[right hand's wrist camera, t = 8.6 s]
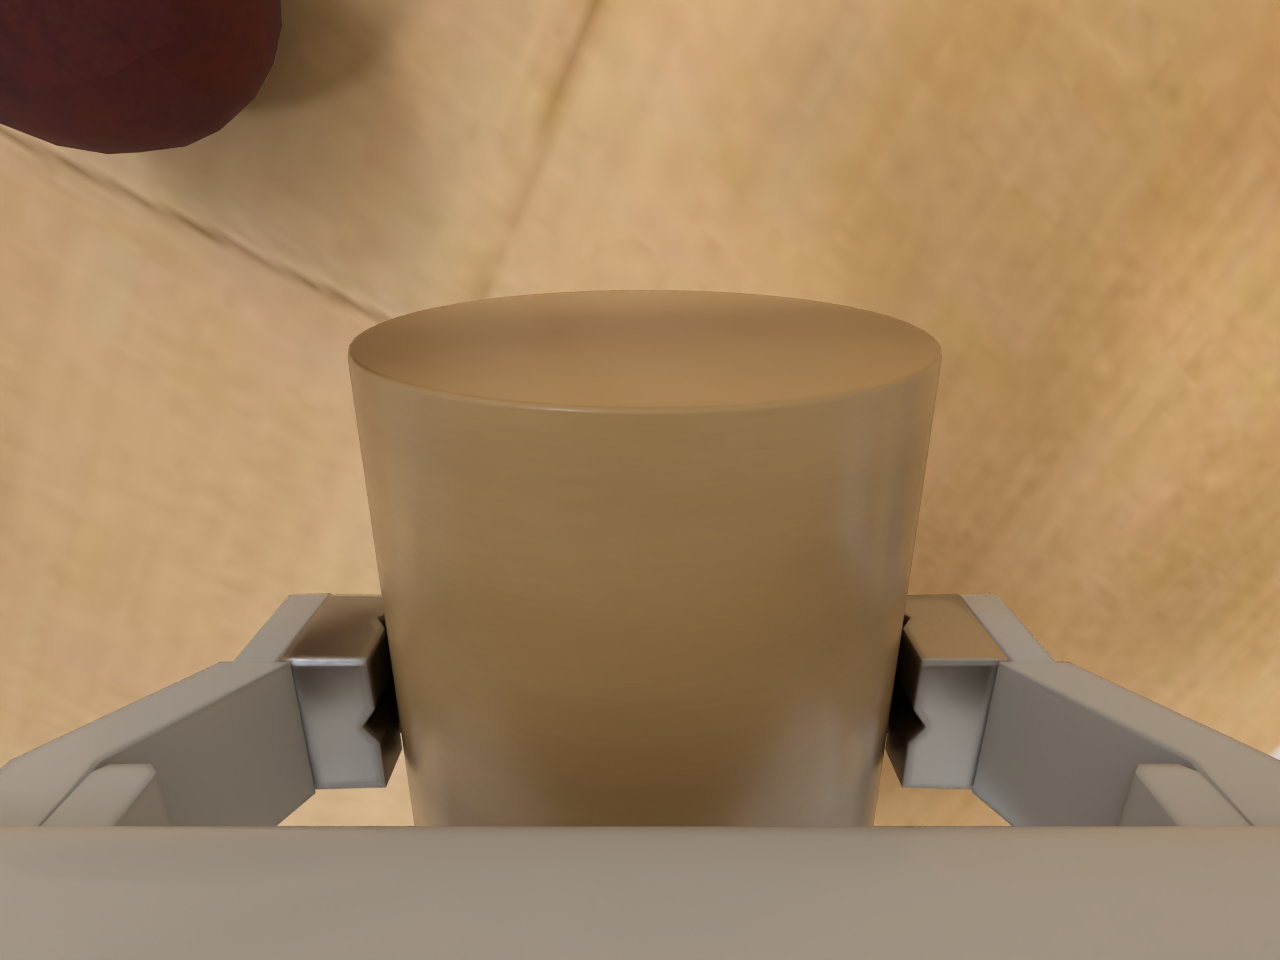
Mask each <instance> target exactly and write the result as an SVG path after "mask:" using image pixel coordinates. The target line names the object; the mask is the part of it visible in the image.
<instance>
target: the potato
mask: <svg viewBox="0 0 1280 960" xmlns="http://www.w3.org/2000/svg"><path fill="white" fill-rule="evenodd" d="M281 26H282V21H281V5H280V0H0V123H1V124H3V125H6V126H8V127H11V128H13V129H16V130H19V131H21V132H24V133H26V134H29V135H31V136H34V137H37V138H39V139H42V140H44V141H47V142H50V143H52V144H55V145H58V146H63V147H69V148H75V149H81V150H87V151H93V152H99V153H105V154H116V153H135V152H145V151H153V150H161V149H169V148H176V147H184V146H187V145H189V144H192V143H194V142H196V141H198V140H200V139H202V138H204V137H206V136H209V135H211V134H213V133H215V132H217V131H219V130H220V129H221V128H223V127H224V126H225V125H226V124H227V123H228V122H229V121H231V120H232V119H233V118H234V117H235V116H236V115H237V114H238V113H239V112H240V111H241V110H242V109H243V108H244V107H246V106H247V105H248V104H249V103H250V102H251V101H252V100H253V99H254V98H255V96H256V95H257V93H258V91H259V89H260V87H261V85H262V84H263V82H264V80H265V78H266V76H267V74H268V72H269V71H270V69H271V67H272V65H273V62H274V58H275V53H276V49H277V44H278V40H279V35H280V31H281Z"/></svg>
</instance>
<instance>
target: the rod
mask: <svg viewBox="0 0 1280 960" xmlns="http://www.w3.org/2000/svg"><path fill="white" fill-rule="evenodd" d="M941 359H942V355H941V348H940V345H939V344H938V342H937V341H936V340H935V338H934V337H932V336H931V335H929V334H928V333H927V332H925V331H924V330H922V329H920V328H917V327H915V326H913V325H911V324H909V323H907V322H904V321H901V320H898V319H895V318H892V317H889V316H885V315H882V314H878V313H874V312H871V311H866V310H862V309H857V308H852V307H848V306H842V305H836V304H830V303H824V302H817V301H810V300H803V299H795V298H786V297H777V296H766V295H755V294H742V293H727V292H707V291H677V290H612V291H582V292H561V293H547V294H533V295H522V296H511V297H502V298H494V299H485V300H478V301H471V302H464V303H458V304H452V305H447V306H441V307H436V308H432V309H427V310H422V311H418V312H414V313H411V314H407V315H403V316H400V317H397V318H394V319H391V320H388V321H385V322H382V323H380V324H378V325H376V326H374V327H372V328H370V329H367V330H365V331H364V332H363V333H361V334H360V335H358V336H357V337H355V339H354V340H353V341H352V343H351V344H350V345H349V349H348V363H349V370H350V377H351V384H352V391H353V398H354V405H355V412H356V419H357V426H358V433H359V440H360V447H361V454H362V461H363V468H364V475H365V482H366V489H367V496H368V503H369V510H370V517H371V524H372V531H373V538H374V545H375V552H376V559H377V566H378V572H379V579H380V586H381V593H382V600H383V607H384V614H385V621H386V628H387V635H388V642H389V649H390V656H391V663H392V670H393V677H394V684H395V691H396V698H397V705H398V712H399V719H400V726H401V733H402V740H403V747H404V754H405V761H406V768H407V775H408V782H409V789H410V796H411V803H412V810H413V817H414V824H415V826H873V824H874V817H875V810H876V804H877V797H878V790H879V783H880V776H881V769H882V762H883V756H884V749H885V742H886V735H887V728H888V721H889V715H890V708H891V701H892V694H893V687H894V680H895V674H896V667H897V660H898V653H899V646H900V639H901V633H902V626H903V619H904V612H905V605H906V598H907V591H908V585H909V578H910V571H911V564H912V557H913V550H914V544H915V537H916V530H917V523H918V516H919V509H920V503H921V496H922V489H923V482H924V475H925V468H926V462H927V455H928V448H929V441H930V434H931V427H932V420H933V414H934V407H935V400H936V393H937V386H938V379H939V373H940V366H941Z"/></svg>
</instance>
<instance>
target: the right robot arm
mask: <svg viewBox="0 0 1280 960" xmlns="http://www.w3.org/2000/svg"><path fill="white" fill-rule="evenodd" d="M400 733H401V726H400V719H399V712H398V705H397V698H396V691H395V684H394V677H393V670H392V663H391V656H390V649H389V642H388V635H387V628H386V621H385V614H384V607H383V600H382V595H363V594H333V595H332V594H330V593H317V594H295V595H289V596H288V597H287V598H286V600H285V601H284V602H283V603H282V604H281V606H280V607H279V608H278V609H277V610H276V611H275V613H274V614H273V615H272V616H271V617H270V619H269V620H268V621H267V622H266V623H265V624H264V626H263V627H262V628H261V629H260V630H259V632H258V633H257V634H256V635H255V636H254V637H253V639H252V640H251V641H250V642H249V643H248V645H247V646H246V647H245V648H244V649H243V651H242V652H241V653H240V654H239V655H238V656H237V658H236V659H235V660H234V661H233V662H219V663H217V664H215V665H213V666H211V667H209V668H206V669H204V670H202V671H200V672H198V673H196V674H194V675H191V676H189V677H187V678H185V679H183V680H181V681H179V682H176V683H174V684H172V685H170V686H168V687H166V688H164V689H162V690H159V691H157V692H155V693H153V694H151V695H149V696H147V697H144V698H142V699H140V700H138V701H136V702H134V703H132V704H129V705H127V706H125V707H123V708H121V709H119V710H117V711H115V712H112V713H110V714H108V715H106V716H104V717H102V718H100V719H97V720H95V721H93V722H91V723H89V724H87V725H85V726H83V727H80V728H78V729H76V730H74V731H72V732H70V733H68V734H65V735H63V736H61V737H59V738H57V739H55V740H53V741H50V742H48V743H46V744H44V745H42V746H40V747H38V748H36V749H33V750H31V751H29V752H27V753H25V754H23V755H21V756H18V757H16V758H14V759H12V760H10V761H9V762H8V763H6V764H5V765H4V766H3V767H2V768H1V769H0V960H1280V760H1278V759H1276V758H1274V757H1272V756H1269V755H1267V754H1265V753H1263V752H1261V751H1259V750H1256V749H1254V748H1252V747H1250V746H1248V745H1246V744H1244V743H1241V742H1239V741H1237V740H1235V739H1233V738H1231V737H1229V736H1226V735H1224V734H1222V733H1220V732H1218V731H1216V730H1213V729H1211V728H1209V727H1207V726H1205V725H1203V724H1201V723H1198V722H1196V721H1194V720H1192V719H1190V718H1188V717H1186V716H1183V715H1181V714H1179V713H1177V712H1175V711H1173V710H1170V709H1168V708H1166V707H1164V706H1162V705H1160V704H1158V703H1155V702H1153V701H1151V700H1149V699H1147V698H1145V697H1143V696H1140V695H1138V694H1136V693H1134V692H1132V691H1130V690H1127V689H1125V688H1123V687H1121V686H1119V685H1117V684H1115V683H1112V682H1110V681H1108V680H1106V679H1104V678H1102V677H1100V676H1097V675H1095V674H1093V673H1091V672H1089V671H1087V670H1084V669H1082V668H1080V667H1078V666H1076V665H1074V664H1072V663H1069V662H1055V661H1054V659H1053V658H1052V657H1051V656H1050V655H1049V654H1048V652H1047V651H1046V650H1045V649H1044V648H1043V647H1042V646H1041V644H1040V643H1039V642H1038V641H1037V640H1036V639H1035V637H1034V636H1033V635H1032V634H1031V633H1030V632H1029V630H1028V629H1027V628H1026V627H1025V626H1024V625H1023V623H1022V622H1021V621H1020V620H1019V619H1018V618H1017V617H1016V615H1015V614H1014V613H1013V612H1012V611H1011V610H1010V608H1009V607H1008V606H1007V605H1006V604H1005V603H1004V601H1003V600H1002V599H1001V598H1000V597H999V596H997V595H994V594H992V593H979V594H940V595H907V598H906V605H905V612H904V619H903V626H902V633H901V639H900V646H899V653H898V660H897V667H896V674H895V680H894V687H893V694H892V701H891V708H890V715H889V721H888V728H887V733H888V734H887V741H886V748H885V749H886V751H887V754H888V756H889V758H890V761H891V763H892V765H893V767H894V770H895V772H896V774H897V777H898V779H899V781H900V783H901V786H902V787H907V788H943V789H973V791H972V793H974V794H975V795H976V796H977V797H978V798H980V799H981V800H982V801H983V802H984V803H986V804H987V805H988V806H989V807H990V808H992V809H993V810H994V811H995V812H996V813H998V814H999V815H1000V816H1001V817H1002V818H1003V819H1005V820H1006V821H1007V822H1008V823H1009V824H1011V825H1012V826H277V825H278V824H279V823H280V822H282V821H283V820H284V819H285V818H286V817H287V816H289V815H290V814H291V813H292V812H293V811H295V810H296V809H297V808H298V807H299V806H301V805H302V804H303V803H304V802H305V801H306V800H308V799H309V798H310V797H311V796H312V795H314V794H315V789H343V788H379V787H386V786H387V783H388V781H389V779H390V776H391V774H392V771H393V769H394V767H395V764H396V762H397V760H398V757H399V755H400V753H401V750H402V745H401V737H400Z"/></svg>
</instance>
